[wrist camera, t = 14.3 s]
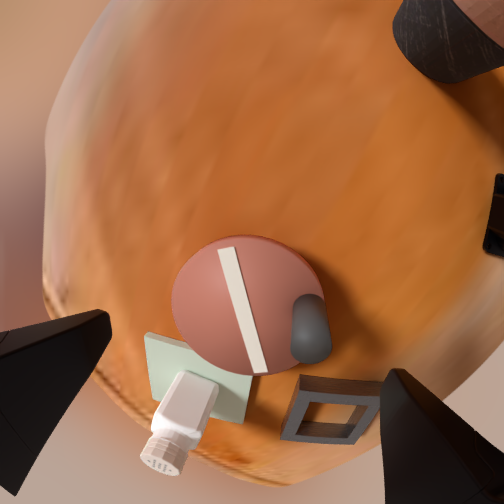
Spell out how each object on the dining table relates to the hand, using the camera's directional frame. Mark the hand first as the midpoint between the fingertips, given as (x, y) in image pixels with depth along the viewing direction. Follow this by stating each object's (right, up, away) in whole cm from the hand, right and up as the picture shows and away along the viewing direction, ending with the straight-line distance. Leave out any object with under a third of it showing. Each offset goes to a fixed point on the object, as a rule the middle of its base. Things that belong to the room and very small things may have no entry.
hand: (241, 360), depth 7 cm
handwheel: (0, -1, +11) cm, 11 cm away
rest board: (-5, -9, +16) cm, 19 cm away
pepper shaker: (-5, -9, +16) cm, 19 cm away
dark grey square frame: (+8, -12, +15) cm, 21 cm away
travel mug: (+14, +19, +5) cm, 24 cm away
